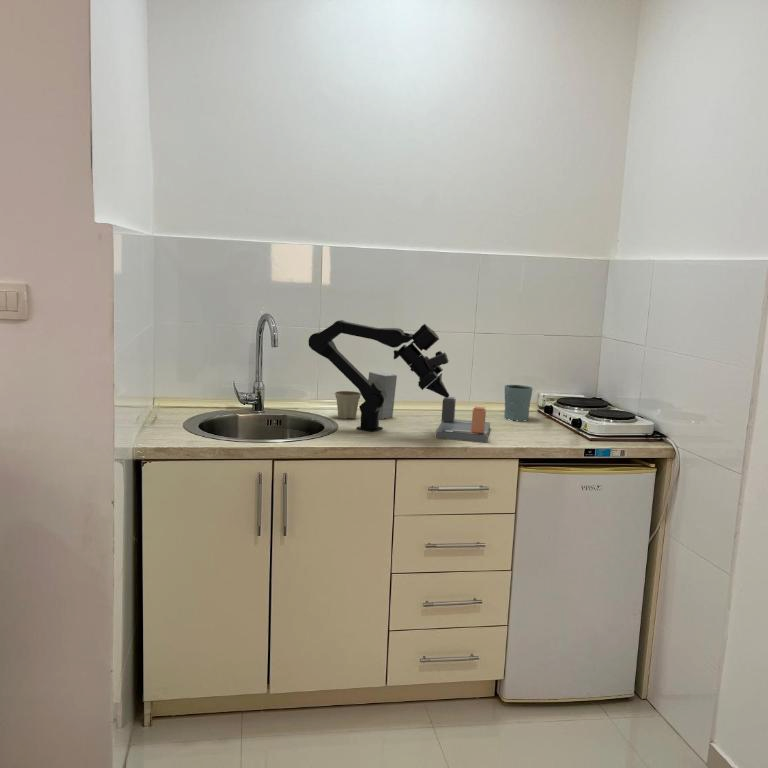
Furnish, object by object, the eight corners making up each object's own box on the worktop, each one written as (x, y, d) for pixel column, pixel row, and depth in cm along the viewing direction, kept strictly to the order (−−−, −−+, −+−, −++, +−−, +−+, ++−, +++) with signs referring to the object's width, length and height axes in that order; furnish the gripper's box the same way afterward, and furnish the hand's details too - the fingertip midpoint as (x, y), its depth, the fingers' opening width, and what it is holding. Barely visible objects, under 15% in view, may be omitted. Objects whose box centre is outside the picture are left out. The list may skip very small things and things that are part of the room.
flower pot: (336, 413, 273) (337, 389, 272) (362, 415, 272) (363, 391, 271) (331, 418, 264) (331, 394, 263) (357, 421, 263) (358, 396, 261)
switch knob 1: (441, 420, 258) (442, 398, 257) (442, 418, 262) (444, 396, 261) (453, 421, 257) (454, 399, 256) (454, 419, 261) (455, 397, 260)
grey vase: (364, 415, 272) (366, 371, 269) (377, 413, 277) (379, 370, 275) (382, 420, 266) (384, 375, 264) (395, 417, 272) (397, 373, 269)
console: (434, 437, 243) (434, 430, 243) (441, 424, 264) (441, 417, 264) (486, 442, 240) (486, 435, 240) (489, 428, 262) (490, 421, 261)
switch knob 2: (471, 431, 243) (472, 408, 241) (472, 429, 246) (473, 406, 245) (483, 433, 242) (485, 409, 241) (484, 430, 246) (486, 407, 245)
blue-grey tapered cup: (508, 421, 274) (510, 388, 272) (497, 416, 283) (500, 384, 282) (534, 421, 276) (537, 389, 274) (523, 416, 286) (525, 384, 284)
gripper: (430, 346, 233) (464, 384, 233) (437, 340, 252) (469, 376, 251) (404, 370, 236) (437, 408, 236) (412, 363, 254) (444, 398, 254)
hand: (448, 396), depth 244 cm, fingers closed
